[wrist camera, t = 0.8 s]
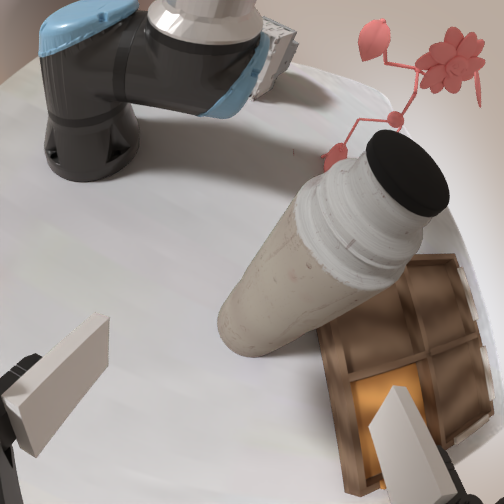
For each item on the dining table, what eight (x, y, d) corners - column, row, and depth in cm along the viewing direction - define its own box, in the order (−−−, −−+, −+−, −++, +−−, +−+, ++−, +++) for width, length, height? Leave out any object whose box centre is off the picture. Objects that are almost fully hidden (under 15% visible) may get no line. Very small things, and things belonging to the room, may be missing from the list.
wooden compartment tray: (302, 267, 42) (317, 253, 39) (442, 261, 52) (457, 251, 49) (344, 493, 29) (364, 499, 26) (479, 416, 39) (498, 413, 36)
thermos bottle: (294, 323, 38) (478, 188, 15) (254, 371, 34) (460, 276, 10) (247, 280, 39) (380, 93, 15) (202, 323, 35) (314, 134, 11)
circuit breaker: (284, 80, 64) (309, 28, 52) (252, 101, 57) (278, 37, 44) (257, 66, 65) (278, 13, 52) (222, 84, 57) (242, 21, 44)
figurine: (278, 149, 52) (381, -32, 22) (386, 161, 61) (487, 43, 31) (305, 228, 46) (469, 30, 16) (416, 223, 55) (546, 109, 25)
